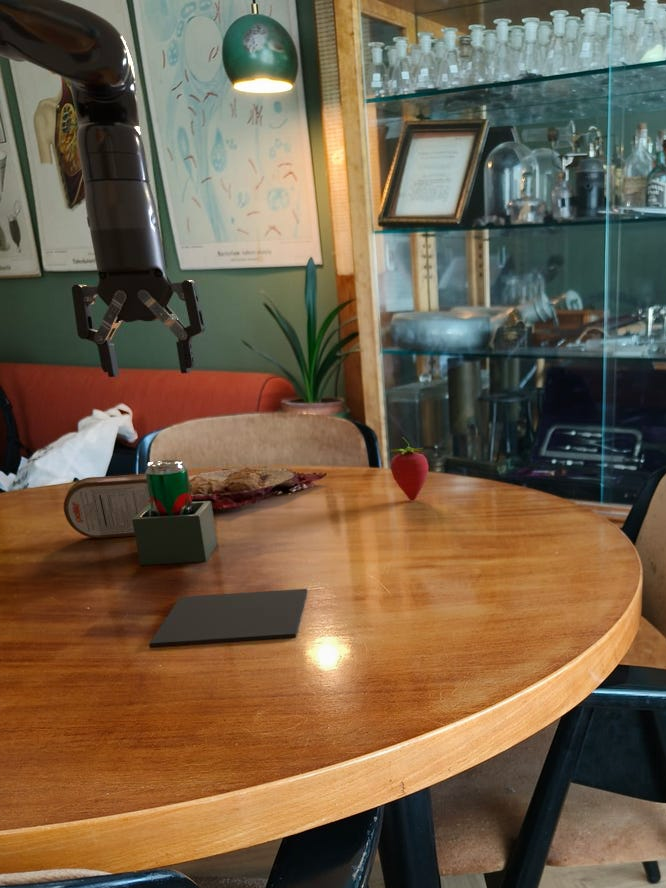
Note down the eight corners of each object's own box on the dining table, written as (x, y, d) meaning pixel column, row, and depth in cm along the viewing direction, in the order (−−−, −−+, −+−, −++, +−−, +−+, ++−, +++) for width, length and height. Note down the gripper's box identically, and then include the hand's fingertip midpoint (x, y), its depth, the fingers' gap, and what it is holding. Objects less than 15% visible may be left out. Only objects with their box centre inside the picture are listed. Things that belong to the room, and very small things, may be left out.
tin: (182, 528, 129) (173, 470, 125) (180, 533, 126) (170, 474, 123) (73, 537, 126) (60, 478, 123) (68, 543, 123) (55, 483, 120)
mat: (149, 647, 85) (148, 643, 85) (180, 600, 98) (179, 596, 98) (295, 637, 86) (295, 633, 86) (307, 591, 99) (307, 588, 99)
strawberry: (396, 507, 136) (391, 442, 132) (390, 497, 143) (385, 434, 139) (434, 504, 137) (430, 439, 134) (426, 494, 144) (422, 432, 140)
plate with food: (329, 484, 155) (327, 464, 154) (230, 513, 134) (227, 491, 133) (225, 477, 166) (223, 459, 164) (117, 504, 144) (114, 483, 143)
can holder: (140, 565, 111) (131, 519, 109) (155, 547, 119) (148, 504, 117) (206, 561, 112) (199, 515, 110) (217, 544, 120) (211, 500, 117)
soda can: (202, 547, 118) (188, 458, 114) (197, 558, 114) (182, 465, 109) (163, 550, 117) (147, 460, 113) (157, 561, 113) (140, 467, 108)
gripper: (194, 227, 105) (215, 369, 111) (71, 231, 104) (98, 374, 110) (181, 223, 98) (203, 375, 104) (49, 227, 97) (79, 380, 103)
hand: (149, 374), depth 107 cm, fingers open, 8 cm apart
